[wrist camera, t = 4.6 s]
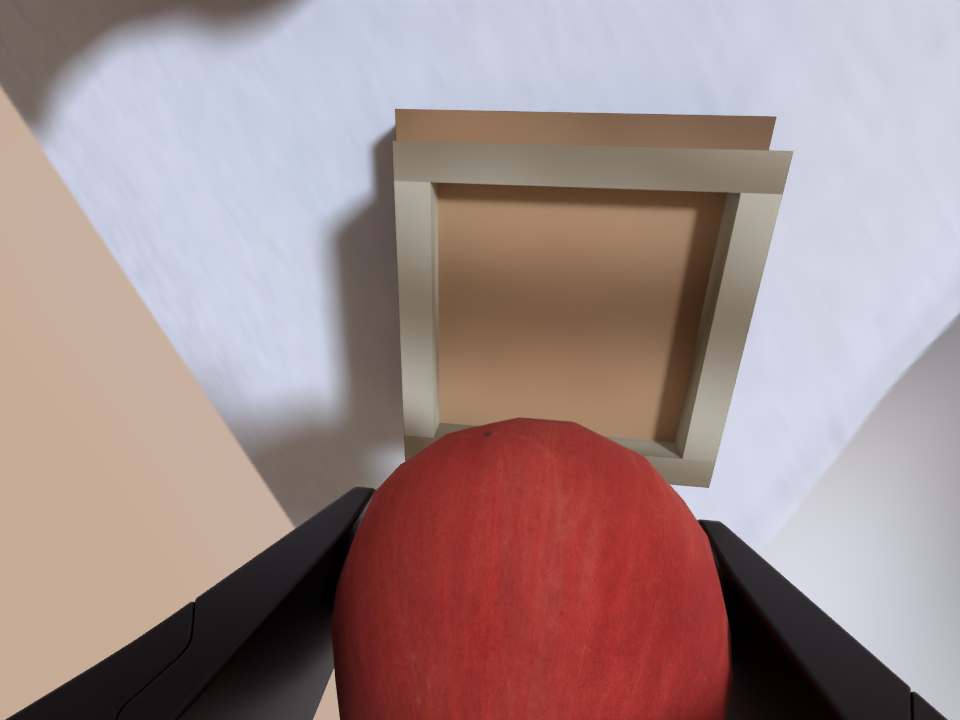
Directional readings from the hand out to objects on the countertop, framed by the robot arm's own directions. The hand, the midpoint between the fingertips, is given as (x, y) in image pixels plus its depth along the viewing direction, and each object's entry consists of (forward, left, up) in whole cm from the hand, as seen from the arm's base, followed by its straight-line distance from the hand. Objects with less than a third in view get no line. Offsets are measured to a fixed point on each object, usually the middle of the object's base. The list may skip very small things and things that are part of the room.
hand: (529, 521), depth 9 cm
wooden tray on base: (+1, -1, -13) cm, 13 cm away
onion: (0, 0, -2) cm, 2 cm away
